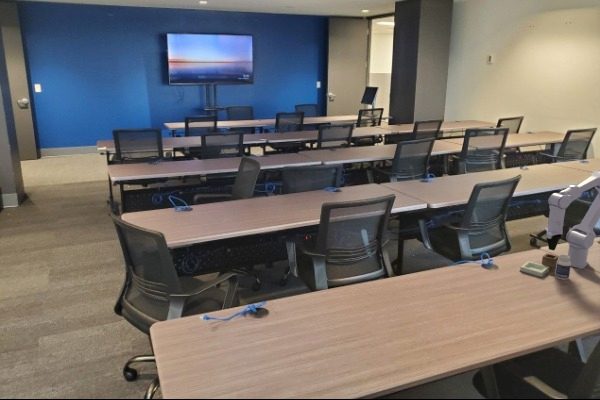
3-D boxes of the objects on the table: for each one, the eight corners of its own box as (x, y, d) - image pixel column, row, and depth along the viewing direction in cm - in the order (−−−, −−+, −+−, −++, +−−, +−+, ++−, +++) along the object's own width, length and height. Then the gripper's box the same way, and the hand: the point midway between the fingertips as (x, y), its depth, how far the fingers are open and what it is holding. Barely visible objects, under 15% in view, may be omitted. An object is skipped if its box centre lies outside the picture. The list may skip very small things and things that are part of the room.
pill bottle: (570, 280, 192) (574, 259, 190) (556, 279, 193) (560, 258, 191) (566, 275, 198) (569, 254, 195) (552, 274, 199) (555, 253, 196)
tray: (527, 265, 208) (528, 260, 207) (548, 271, 202) (549, 266, 201) (519, 271, 202) (520, 266, 201) (541, 277, 196) (542, 272, 195)
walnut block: (544, 265, 208) (546, 253, 206) (556, 268, 204) (558, 256, 203) (540, 268, 204) (542, 256, 203) (552, 272, 201) (554, 259, 199)
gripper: (552, 215, 206) (547, 243, 209) (540, 222, 196) (536, 251, 200) (569, 218, 201) (564, 246, 205) (558, 226, 191) (553, 255, 195)
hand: (551, 249), depth 202 cm, fingers closed
